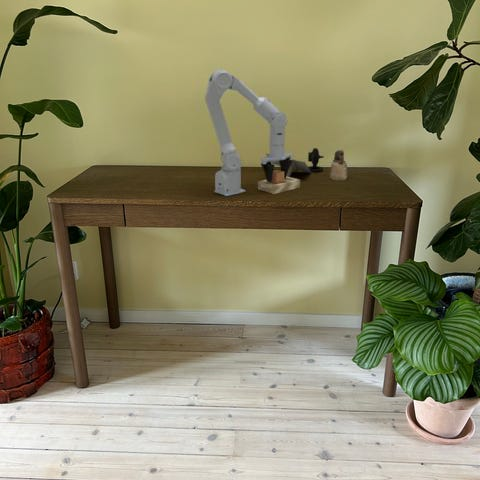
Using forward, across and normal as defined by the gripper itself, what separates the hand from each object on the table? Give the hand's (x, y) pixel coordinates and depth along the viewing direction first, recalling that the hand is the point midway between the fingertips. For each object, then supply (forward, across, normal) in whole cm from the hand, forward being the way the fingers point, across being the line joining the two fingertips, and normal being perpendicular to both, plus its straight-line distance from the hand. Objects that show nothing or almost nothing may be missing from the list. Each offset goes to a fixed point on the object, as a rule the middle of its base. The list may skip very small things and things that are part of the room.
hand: (276, 179), depth 187 cm
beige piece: (+4, +2, 0) cm, 4 cm away
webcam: (+4, +34, +10) cm, 35 cm away
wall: (+4, +19, +13) cm, 23 cm away
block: (+4, 0, 0) cm, 4 cm away
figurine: (+4, +30, -6) cm, 31 cm away
